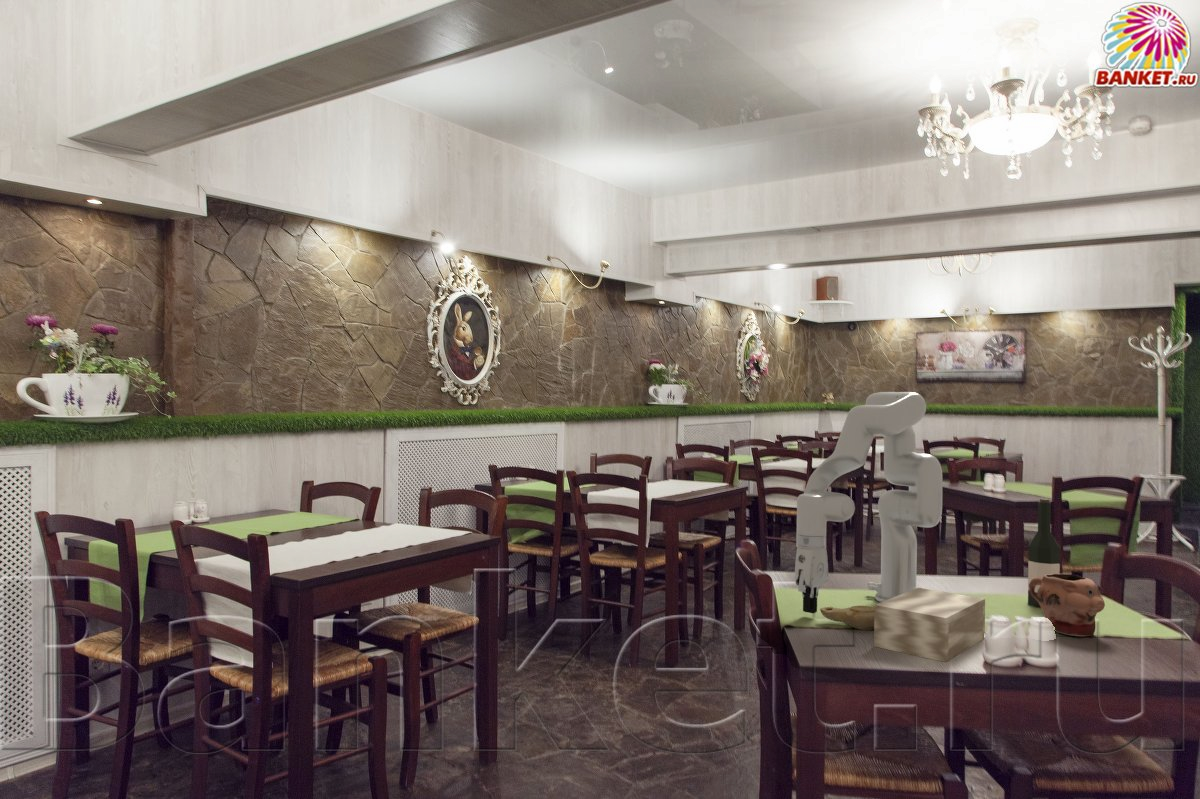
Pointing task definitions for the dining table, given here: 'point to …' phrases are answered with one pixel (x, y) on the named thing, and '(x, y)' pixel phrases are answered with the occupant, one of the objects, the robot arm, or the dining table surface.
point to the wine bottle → (1042, 550)
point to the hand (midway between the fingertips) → (809, 611)
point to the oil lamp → (852, 616)
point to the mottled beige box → (929, 623)
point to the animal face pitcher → (1068, 602)
